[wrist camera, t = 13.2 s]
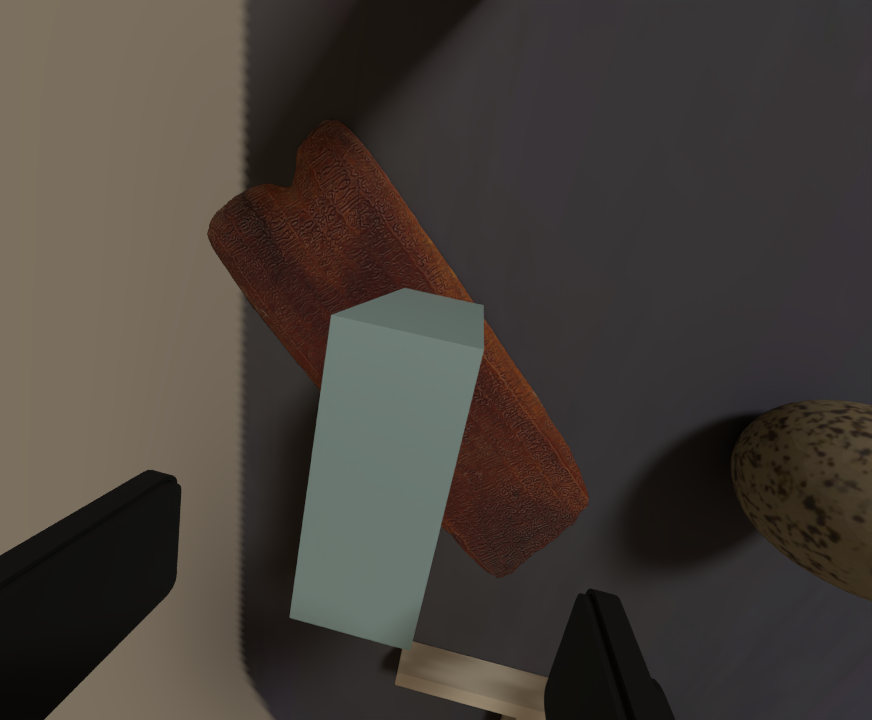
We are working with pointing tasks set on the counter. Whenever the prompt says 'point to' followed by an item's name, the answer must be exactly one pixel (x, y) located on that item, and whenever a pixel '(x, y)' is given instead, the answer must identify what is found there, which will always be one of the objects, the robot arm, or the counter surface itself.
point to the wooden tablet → (380, 275)
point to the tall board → (384, 460)
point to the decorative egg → (812, 487)
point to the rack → (472, 682)
